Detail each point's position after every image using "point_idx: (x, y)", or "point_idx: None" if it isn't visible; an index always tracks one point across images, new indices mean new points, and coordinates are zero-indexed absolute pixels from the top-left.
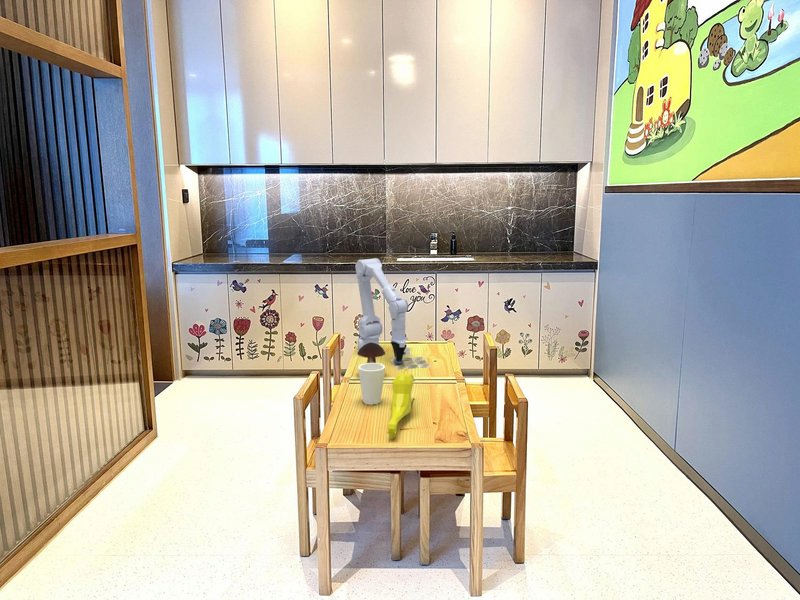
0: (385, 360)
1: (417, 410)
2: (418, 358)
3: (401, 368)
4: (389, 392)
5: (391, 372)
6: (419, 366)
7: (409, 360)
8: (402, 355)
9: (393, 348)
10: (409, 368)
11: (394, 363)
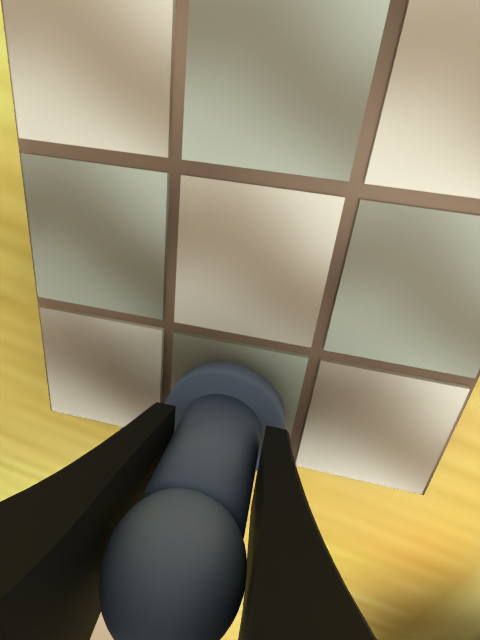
0: (27, 408)
1: None
2: (72, 39)
3: (417, 445)
4: None
5: (387, 505)
6: (477, 194)
7: (141, 227)
8: (301, 491)
9: (94, 626)
10: (473, 366)
11: None
